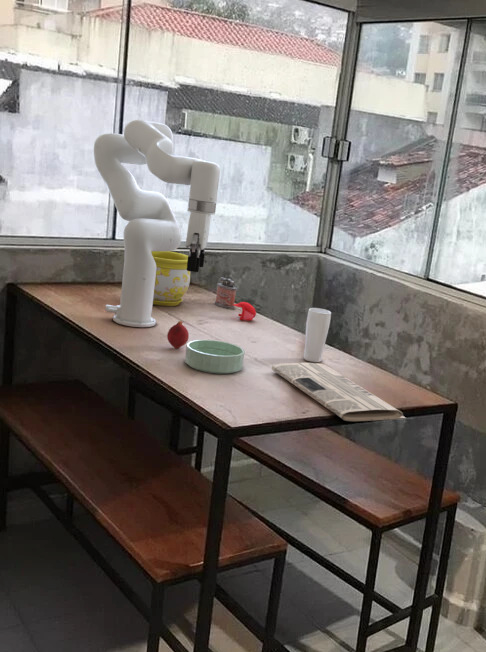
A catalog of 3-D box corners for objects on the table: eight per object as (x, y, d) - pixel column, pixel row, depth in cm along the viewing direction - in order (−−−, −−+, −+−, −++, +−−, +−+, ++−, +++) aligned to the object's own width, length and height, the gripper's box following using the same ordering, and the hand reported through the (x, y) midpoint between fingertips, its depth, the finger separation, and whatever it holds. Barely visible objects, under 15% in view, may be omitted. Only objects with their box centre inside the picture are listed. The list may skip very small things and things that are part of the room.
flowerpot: (122, 297, 276) (127, 250, 273) (160, 293, 292) (165, 248, 288) (161, 310, 268) (167, 261, 264) (198, 305, 283) (203, 259, 279)
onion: (182, 353, 223) (185, 325, 221) (162, 348, 224) (165, 320, 222) (190, 348, 228) (193, 321, 227) (171, 344, 229) (174, 317, 227)
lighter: (236, 308, 289) (239, 281, 286) (230, 309, 286) (233, 281, 283) (218, 303, 293) (222, 276, 290) (212, 303, 290) (216, 276, 287)
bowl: (179, 369, 208) (182, 350, 207) (190, 354, 223) (192, 336, 222) (238, 378, 209) (241, 359, 208) (245, 362, 224) (247, 345, 223)
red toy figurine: (249, 317, 279) (252, 300, 277) (257, 321, 274) (260, 304, 273) (228, 316, 274) (231, 299, 273) (236, 321, 269) (239, 304, 268)
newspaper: (271, 372, 219) (272, 362, 218) (332, 371, 229) (333, 362, 228) (340, 422, 189) (342, 410, 188) (407, 418, 199) (409, 408, 198)
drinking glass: (306, 363, 233) (314, 313, 230) (297, 356, 239) (304, 307, 235) (327, 363, 236) (335, 314, 233) (317, 356, 242) (325, 308, 238)
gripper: (192, 203, 230) (186, 262, 233) (183, 207, 213) (176, 271, 217) (219, 207, 230) (212, 266, 234) (211, 211, 213) (204, 275, 217)
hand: (195, 268), depth 225 cm, fingers open, 9 cm apart
